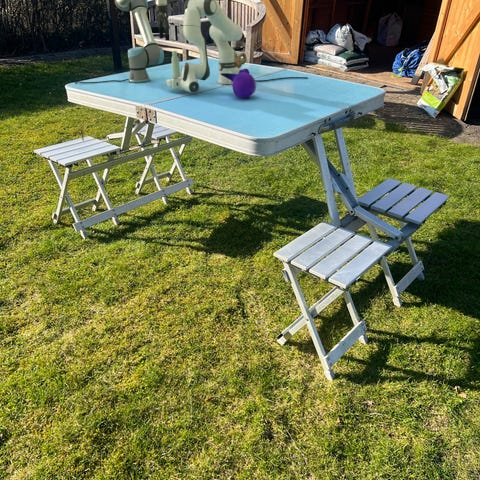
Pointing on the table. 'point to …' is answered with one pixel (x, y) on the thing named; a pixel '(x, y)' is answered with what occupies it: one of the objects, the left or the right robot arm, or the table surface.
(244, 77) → the toy
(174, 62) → the bottle
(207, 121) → the table surface
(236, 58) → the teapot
